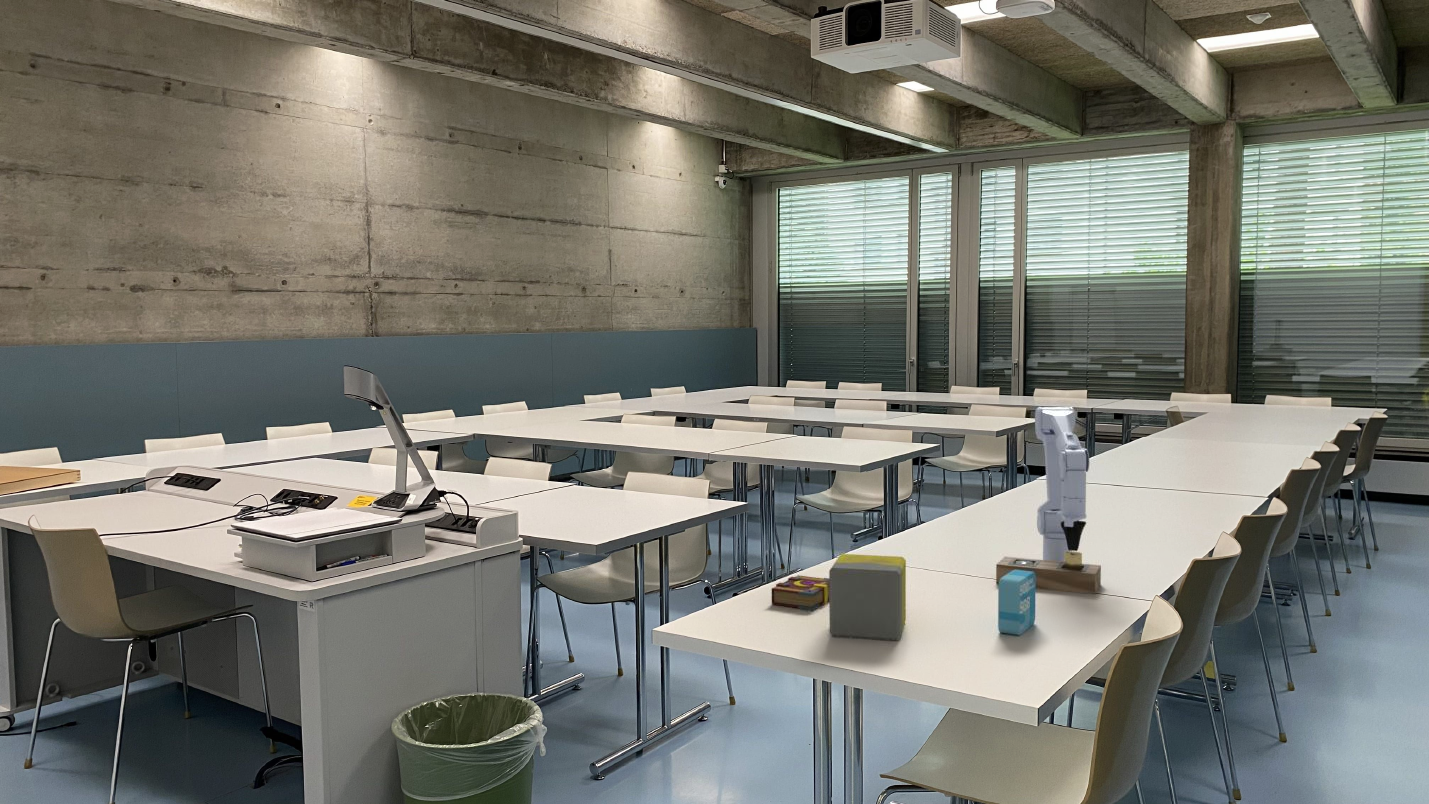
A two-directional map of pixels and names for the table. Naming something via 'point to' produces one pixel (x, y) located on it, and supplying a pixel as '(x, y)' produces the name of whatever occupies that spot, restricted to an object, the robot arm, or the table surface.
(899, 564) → the yellow-topped grey cube
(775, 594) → the decorative book
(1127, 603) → the table surface
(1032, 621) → the data package
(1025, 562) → the steel peg
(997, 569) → the wooden block
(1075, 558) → the brass peg
